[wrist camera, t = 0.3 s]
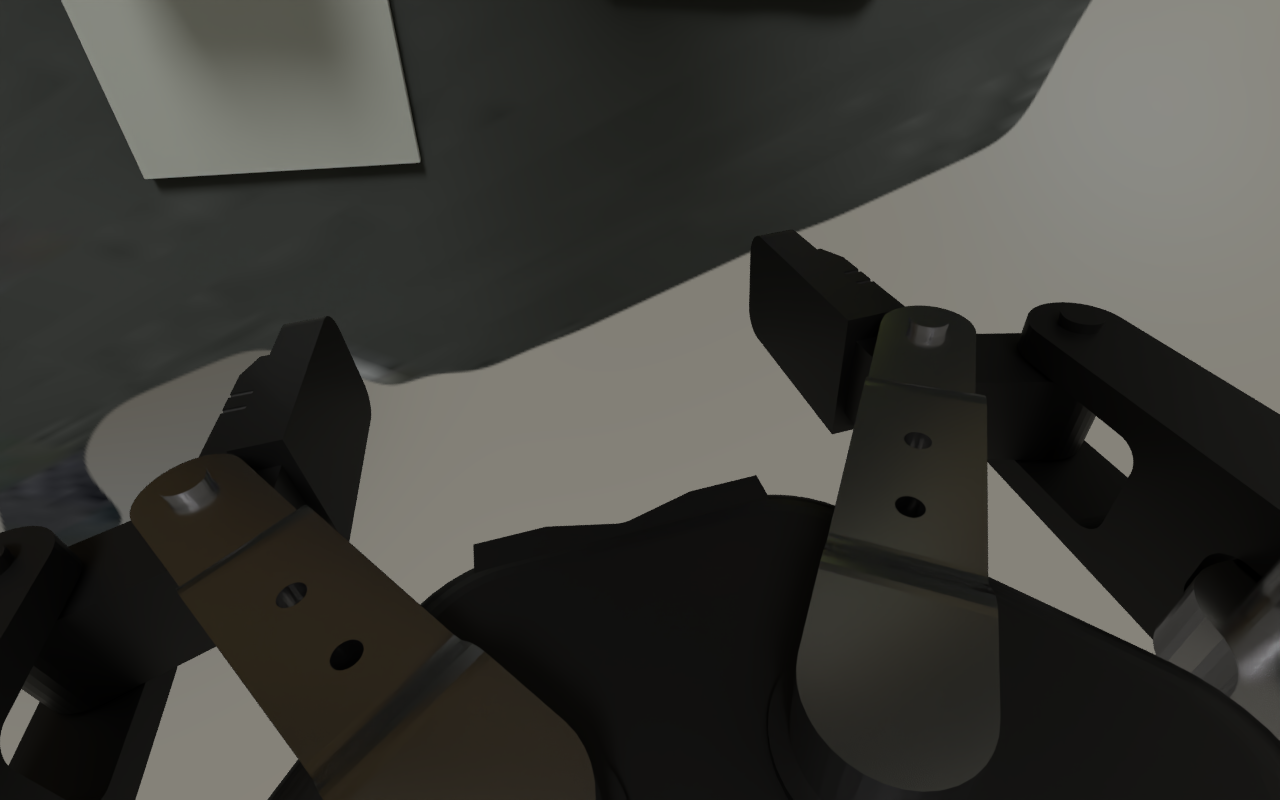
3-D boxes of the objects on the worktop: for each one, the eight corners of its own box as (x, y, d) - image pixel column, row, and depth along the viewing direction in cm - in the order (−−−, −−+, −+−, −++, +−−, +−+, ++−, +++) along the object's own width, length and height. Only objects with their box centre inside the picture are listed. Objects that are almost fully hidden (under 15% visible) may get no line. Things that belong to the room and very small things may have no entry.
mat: (17, -117, 26) (5, -118, 25) (367, -109, 28) (365, -110, 28) (150, 174, 33) (144, 179, 32) (420, 158, 36) (420, 162, 35)
